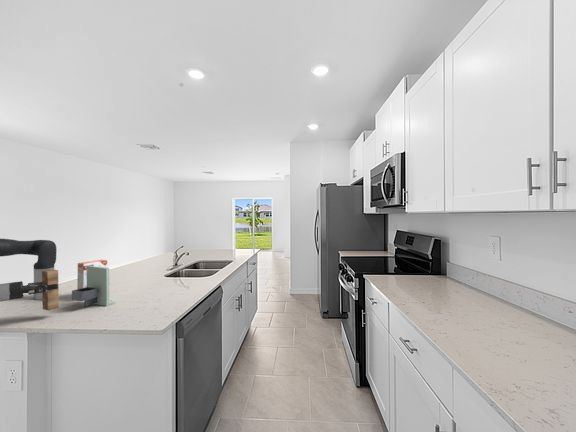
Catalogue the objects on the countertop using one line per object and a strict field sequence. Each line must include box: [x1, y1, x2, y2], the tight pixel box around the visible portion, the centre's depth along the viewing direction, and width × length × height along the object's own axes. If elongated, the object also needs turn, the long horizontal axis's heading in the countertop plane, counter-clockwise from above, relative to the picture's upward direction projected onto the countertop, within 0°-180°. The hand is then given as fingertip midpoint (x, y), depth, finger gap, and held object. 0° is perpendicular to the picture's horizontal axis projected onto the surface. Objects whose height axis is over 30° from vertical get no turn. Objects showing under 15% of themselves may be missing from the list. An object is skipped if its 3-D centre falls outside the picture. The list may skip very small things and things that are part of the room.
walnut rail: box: [41, 269, 60, 312], centre depth 138 cm, size 4×4×18 cm
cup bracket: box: [71, 266, 117, 307], centre depth 155 cm, size 16×15×20 cm
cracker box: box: [76, 259, 108, 290], centre depth 170 cm, size 14×6×21 cm, turn 156°
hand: (56, 284), depth 140 cm, fingers closed on walnut rail, 5 cm apart
